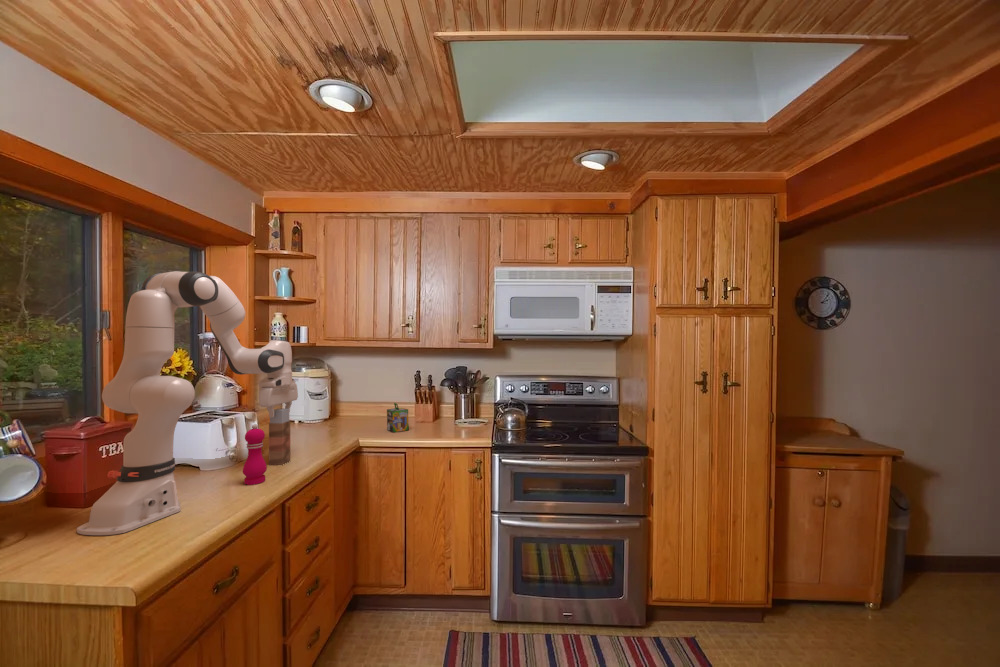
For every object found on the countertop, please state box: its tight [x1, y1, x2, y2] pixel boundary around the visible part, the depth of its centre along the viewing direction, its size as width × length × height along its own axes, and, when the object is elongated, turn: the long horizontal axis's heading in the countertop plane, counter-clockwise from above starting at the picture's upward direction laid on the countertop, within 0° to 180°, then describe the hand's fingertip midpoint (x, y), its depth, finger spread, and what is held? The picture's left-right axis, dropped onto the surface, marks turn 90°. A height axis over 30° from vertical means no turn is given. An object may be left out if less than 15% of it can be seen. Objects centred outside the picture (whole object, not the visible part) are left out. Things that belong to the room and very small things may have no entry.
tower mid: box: [268, 434, 291, 452], centre depth 169 cm, size 6×6×6 cm
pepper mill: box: [242, 423, 268, 486], centre depth 146 cm, size 7×7×20 cm
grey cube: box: [269, 408, 290, 423], centre depth 169 cm, size 5×5×5 cm
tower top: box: [268, 420, 291, 438], centre depth 169 cm, size 6×6×6 cm
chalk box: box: [386, 402, 410, 434], centre depth 229 cm, size 9×9×15 cm
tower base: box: [268, 447, 291, 466], centre depth 168 cm, size 6×6×6 cm
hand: (279, 414), depth 169 cm, fingers open, 8 cm apart
